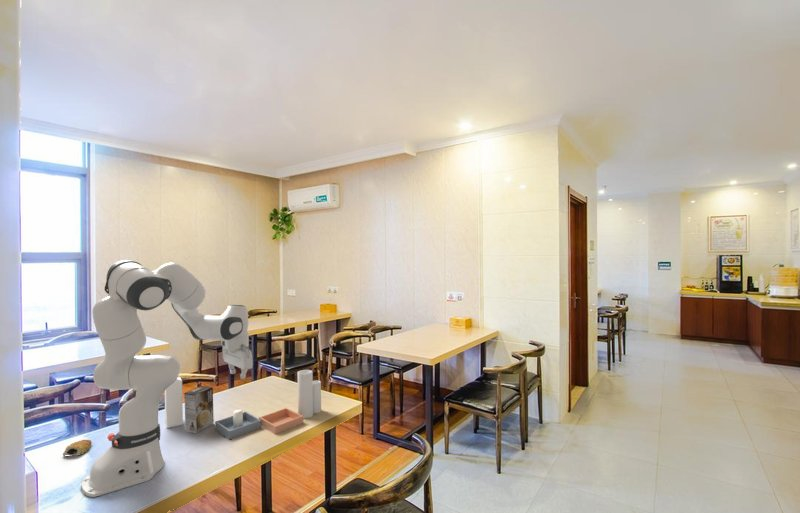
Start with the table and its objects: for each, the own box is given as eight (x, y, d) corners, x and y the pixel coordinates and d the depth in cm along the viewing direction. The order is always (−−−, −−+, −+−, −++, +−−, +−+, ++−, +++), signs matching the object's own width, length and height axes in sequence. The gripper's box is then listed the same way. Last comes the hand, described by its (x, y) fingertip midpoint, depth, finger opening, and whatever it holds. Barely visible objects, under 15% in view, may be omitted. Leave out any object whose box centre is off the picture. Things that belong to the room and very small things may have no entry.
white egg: (235, 430, 158) (235, 413, 158) (231, 428, 160) (231, 411, 160) (244, 427, 160) (244, 411, 160) (240, 425, 163) (240, 408, 163)
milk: (166, 428, 162) (165, 376, 161) (165, 423, 166) (163, 372, 166) (183, 424, 165) (181, 373, 165) (181, 419, 170) (179, 369, 170)
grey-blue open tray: (229, 440, 151) (229, 431, 151) (215, 429, 160) (215, 421, 160) (261, 428, 161) (260, 420, 161) (246, 419, 170) (245, 411, 170)
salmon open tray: (275, 435, 155) (275, 426, 155) (259, 425, 164) (258, 417, 163) (303, 424, 165) (303, 416, 164) (286, 415, 173) (286, 407, 173)
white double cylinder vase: (306, 420, 168) (305, 375, 167) (294, 417, 171) (293, 372, 171) (323, 411, 178) (322, 368, 177) (311, 408, 181) (311, 366, 181)
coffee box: (202, 421, 168) (202, 385, 167) (214, 423, 166) (213, 386, 165) (184, 431, 159) (183, 392, 159) (196, 433, 157) (195, 394, 157)
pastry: (77, 445, 148) (77, 435, 148) (97, 443, 149) (97, 434, 149) (61, 458, 139) (61, 448, 139) (82, 456, 140) (82, 446, 140)
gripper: (256, 345, 156) (257, 379, 156) (234, 338, 170) (234, 369, 170) (241, 348, 151) (241, 383, 152) (219, 340, 165) (220, 372, 165)
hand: (237, 375), depth 161 cm, fingers open, 8 cm apart
